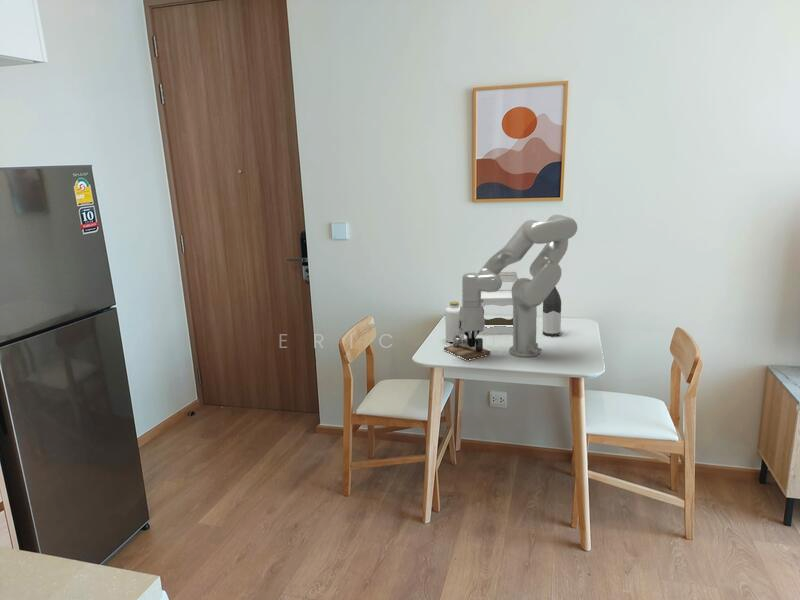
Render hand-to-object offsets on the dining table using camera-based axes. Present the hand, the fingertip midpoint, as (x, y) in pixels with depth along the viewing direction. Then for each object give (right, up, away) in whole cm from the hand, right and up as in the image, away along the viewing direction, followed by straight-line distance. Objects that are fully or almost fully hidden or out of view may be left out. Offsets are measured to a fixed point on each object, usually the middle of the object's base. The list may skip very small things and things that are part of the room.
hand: (471, 346), depth 234 cm
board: (-1, -3, +7) cm, 8 cm away
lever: (0, -1, +6) cm, 6 cm away
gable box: (+18, +5, +35) cm, 40 cm away
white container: (-5, 0, +22) cm, 23 cm away
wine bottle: (+40, +3, +25) cm, 47 cm away
